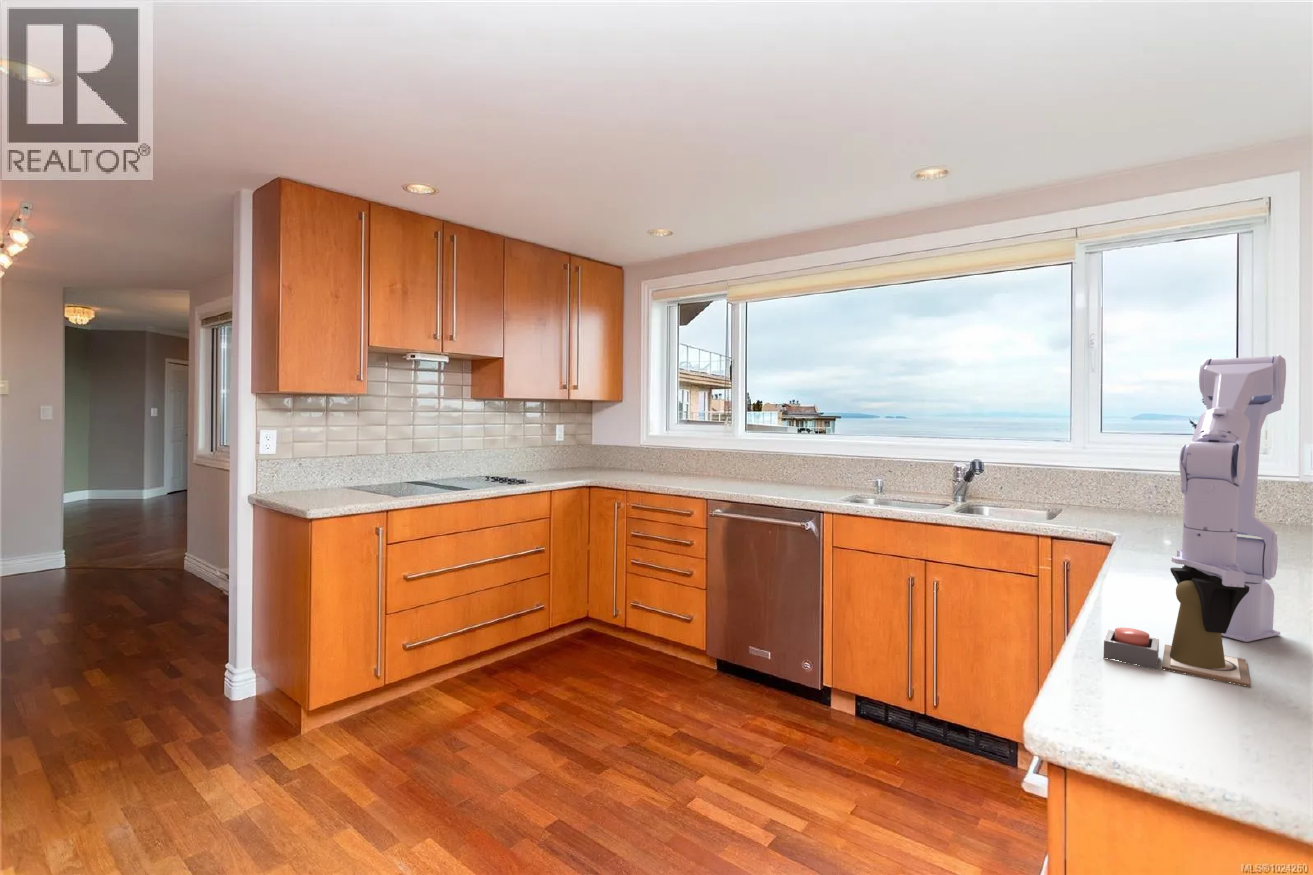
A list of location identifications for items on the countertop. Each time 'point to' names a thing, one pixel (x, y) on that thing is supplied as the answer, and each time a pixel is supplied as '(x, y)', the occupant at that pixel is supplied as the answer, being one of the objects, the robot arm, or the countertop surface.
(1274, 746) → the countertop surface
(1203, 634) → the brown tapered cone
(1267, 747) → the countertop surface
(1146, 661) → the button housing
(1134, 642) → the button
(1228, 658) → the sketch board
